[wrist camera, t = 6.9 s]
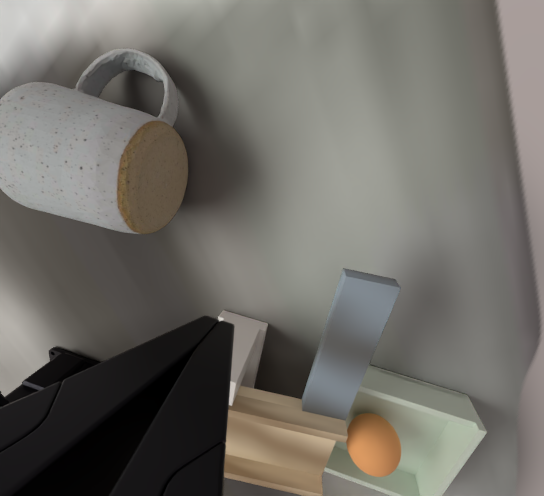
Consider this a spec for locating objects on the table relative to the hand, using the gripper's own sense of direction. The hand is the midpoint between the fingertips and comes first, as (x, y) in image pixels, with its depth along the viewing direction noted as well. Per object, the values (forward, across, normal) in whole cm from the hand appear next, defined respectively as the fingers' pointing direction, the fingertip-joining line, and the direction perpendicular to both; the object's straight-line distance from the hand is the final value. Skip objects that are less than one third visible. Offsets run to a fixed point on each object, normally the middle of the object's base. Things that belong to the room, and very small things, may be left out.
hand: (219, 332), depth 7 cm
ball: (+10, -10, +15) cm, 21 cm away
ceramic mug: (+13, +12, -3) cm, 18 cm away
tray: (+13, -12, +15) cm, 23 cm away
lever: (+12, +1, +10) cm, 15 cm away
